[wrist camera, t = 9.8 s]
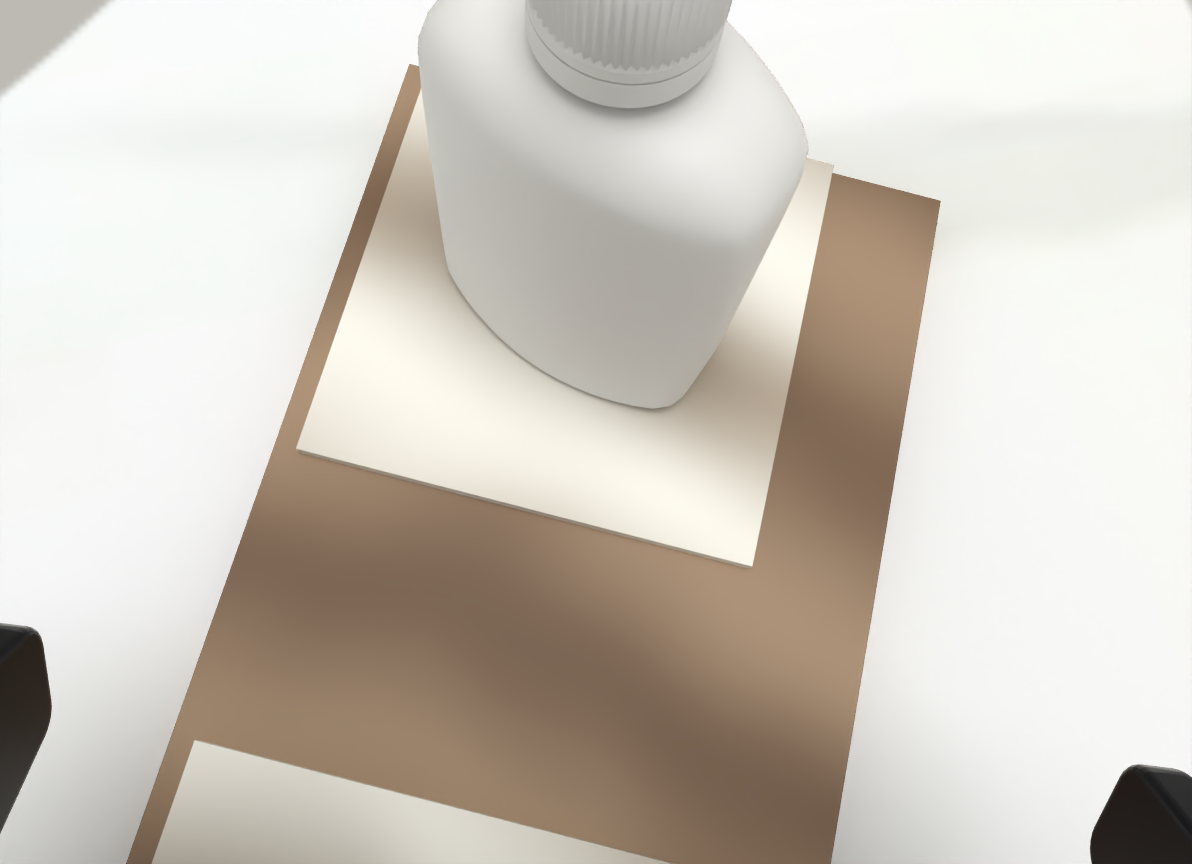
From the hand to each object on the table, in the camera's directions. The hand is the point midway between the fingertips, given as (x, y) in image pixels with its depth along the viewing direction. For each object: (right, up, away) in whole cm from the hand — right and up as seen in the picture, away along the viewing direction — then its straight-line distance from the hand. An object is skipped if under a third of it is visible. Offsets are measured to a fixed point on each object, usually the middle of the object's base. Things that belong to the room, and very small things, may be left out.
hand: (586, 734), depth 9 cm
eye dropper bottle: (0, +5, +13) cm, 14 cm away
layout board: (-1, -2, +11) cm, 12 cm away
